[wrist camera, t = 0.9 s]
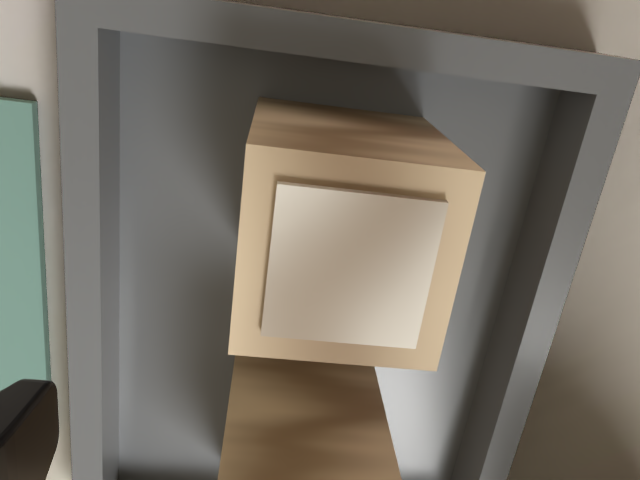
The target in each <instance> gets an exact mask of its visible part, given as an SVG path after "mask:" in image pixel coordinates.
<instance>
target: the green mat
mask: <svg viewBox="0 0 640 480" xmlns="http://www.w3.org/2000/svg"><path fill="white" fill-rule="evenodd" d="M21 379H37V380H50V381H51V370H50V350H49V330H48V310H47V289H46V269H45V249H44V229H43V209H42V189H41V169H40V148H39V128H38V108H37V101H31V100H23V99H15V98H6V97H0V391H1V390H3V389H5V388H6V387H8V386H10V385H11V384H13V383H15V382H17V381H19V380H21Z"/></svg>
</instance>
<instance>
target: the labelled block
mask: <svg viewBox="0 0 640 480" xmlns="http://www.w3.org/2000/svg"><path fill="white" fill-rule="evenodd" d="M485 174H486V171H484V170H483V169H482V168H481V167H480V166H479V165H477V164H476V163H475V162H474V161H473V160H472V159H471V158H469V157H468V156H467V155H466V154H465V153H464V152H463V151H461V150H460V149H459V148H458V147H457V146H456V145H455V144H453V143H452V142H451V141H450V140H449V139H448V138H447V137H445V136H444V135H443V134H442V133H441V132H440V131H439V130H437V129H436V128H435V127H434V126H433V125H432V124H430V123H429V122H428V121H427V120H426V119H425V118H424V117H416V116H408V115H400V114H392V113H384V112H376V111H368V110H360V109H352V108H344V107H336V106H328V105H320V104H312V103H305V102H297V101H289V100H281V99H273V98H265V97H259V98H258V102H257V105H256V109H255V113H254V116H253V120H252V124H251V127H250V131H249V135H248V139H247V142H246V150H245V162H244V174H243V185H242V197H241V209H240V220H239V232H238V244H237V255H236V267H235V279H234V290H233V302H232V314H231V325H230V337H229V349H228V355H239V356H251V357H263V358H276V359H288V360H300V361H313V362H325V363H338V364H350V365H362V366H375V367H387V368H399V369H412V370H424V371H437V368H438V364H439V360H440V356H441V352H442V348H443V344H444V340H445V336H446V332H447V328H448V324H449V320H450V316H451V312H452V307H453V303H454V299H455V295H456V291H457V287H458V283H459V279H460V275H461V271H462V267H463V263H464V259H465V255H466V251H467V247H468V243H469V239H470V235H471V231H472V227H473V223H474V219H475V215H476V210H477V206H478V202H479V198H480V194H481V190H482V186H483V182H484V178H485Z"/></svg>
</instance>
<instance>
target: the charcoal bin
mask: <svg viewBox="0 0 640 480" xmlns="http://www.w3.org/2000/svg"><path fill="white" fill-rule="evenodd" d="M55 19H56V47H57V74H58V102H59V130H60V158H61V185H62V213H63V241H64V269H65V296H66V324H67V352H68V379H69V407H70V435H71V463H72V480H218V473H219V466H220V459H221V452H222V445H223V438H224V431H225V424H226V417H227V410H228V403H229V395H230V388H231V381H232V374H233V367H234V360H235V355H228V349H229V337H230V325H231V314H232V302H233V290H234V279H235V267H236V255H237V244H238V232H239V220H240V209H241V197H242V185H243V174H244V162H245V150H246V142H247V139H248V135H249V131H250V127H251V124H252V120H253V116H254V113H255V109H256V105H257V102H258V98H259V97H265V98H273V99H281V100H289V101H297V102H305V103H312V104H320V105H328V106H336V107H344V108H352V109H360V110H368V111H376V112H384V113H392V114H400V115H408V116H416V117H424V118H425V119H426V120H427V121H428V122H429V123H430V124H432V125H433V126H434V127H435V128H436V129H437V130H439V131H440V132H441V133H442V134H443V135H444V136H445V137H447V138H448V139H449V140H450V141H451V142H452V143H453V144H455V145H456V146H457V147H458V148H459V149H460V150H461V151H463V152H464V153H465V154H466V155H467V156H468V157H469V158H471V159H472V160H473V161H474V162H475V163H476V164H477V165H479V166H480V167H481V168H482V169H483V170H484V171H486V174H485V178H484V182H483V186H482V190H481V194H480V198H479V202H478V206H477V210H476V215H475V219H474V223H473V227H472V231H471V235H470V239H469V243H468V247H467V251H466V255H465V259H464V263H463V267H462V271H461V275H460V279H459V283H458V287H457V291H456V295H455V299H454V303H453V307H452V312H451V316H450V320H449V324H448V328H447V332H446V336H445V340H444V344H443V348H442V352H441V356H440V360H439V364H438V368H437V371H424V370H412V369H399V368H387V367H375V366H374V367H375V371H376V375H377V379H378V383H379V387H380V392H381V396H382V400H383V404H384V408H385V412H386V417H387V421H388V425H389V429H390V433H391V437H392V442H393V446H394V450H395V454H396V458H397V462H398V467H399V471H400V475H401V479H402V480H507V478H508V475H509V472H510V469H511V466H512V462H513V459H514V456H515V453H516V450H517V447H518V444H519V441H520V438H521V435H522V432H523V429H524V426H525V423H526V420H527V417H528V414H529V411H530V408H531V405H532V402H533V399H534V396H535V393H536V389H537V386H538V383H539V380H540V377H541V374H542V371H543V368H544V365H545V362H546V359H547V356H548V353H549V350H550V347H551V344H552V341H553V338H554V335H555V332H556V329H557V326H558V323H559V320H560V316H561V313H562V310H563V307H564V304H565V301H566V298H567V295H568V292H569V289H570V286H571V283H572V280H573V277H574V274H575V271H576V268H577V265H578V262H579V259H580V256H581V253H582V250H583V247H584V243H585V240H586V237H587V234H588V231H589V228H590V225H591V222H592V219H593V216H594V213H595V210H596V207H597V204H598V201H599V198H600V195H601V192H602V189H603V186H604V183H605V180H606V177H607V174H608V170H609V167H610V164H611V161H612V158H613V155H614V152H615V149H616V146H617V143H618V140H619V137H620V134H621V131H622V128H623V125H624V122H625V119H626V116H627V113H628V110H629V107H630V104H631V101H632V97H633V94H634V91H635V88H636V85H637V82H638V79H639V76H640V60H636V59H630V58H625V57H619V56H613V55H608V54H602V53H596V52H589V51H582V50H575V49H568V48H561V47H554V46H546V45H539V44H532V43H525V42H518V41H511V40H504V39H497V38H490V37H483V36H476V35H469V34H461V33H454V32H447V31H440V30H433V29H426V28H419V27H412V26H405V25H398V24H391V23H384V22H377V21H369V20H362V19H355V18H348V17H341V16H334V15H327V14H320V13H313V12H306V11H299V10H292V9H284V8H277V7H270V6H263V5H256V4H249V3H242V2H235V1H228V0H55Z"/></svg>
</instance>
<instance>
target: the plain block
mask: <svg viewBox="0 0 640 480" xmlns="http://www.w3.org/2000/svg"><path fill="white" fill-rule="evenodd" d="M218 480H402V479H401V475H400V471H399V467H398V462H397V458H396V454H395V450H394V446H393V442H392V437H391V433H390V429H389V425H388V421H387V417H386V412H385V408H384V404H383V400H382V396H381V392H380V387H379V383H378V379H377V375H376V371H375V367H374V366H362V365H350V364H338V363H325V362H313V361H300V360H288V359H276V358H263V357H251V356H239V355H235V360H234V367H233V374H232V381H231V388H230V395H229V403H228V410H227V417H226V424H225V431H224V438H223V445H222V452H221V459H220V466H219V473H218Z"/></svg>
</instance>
